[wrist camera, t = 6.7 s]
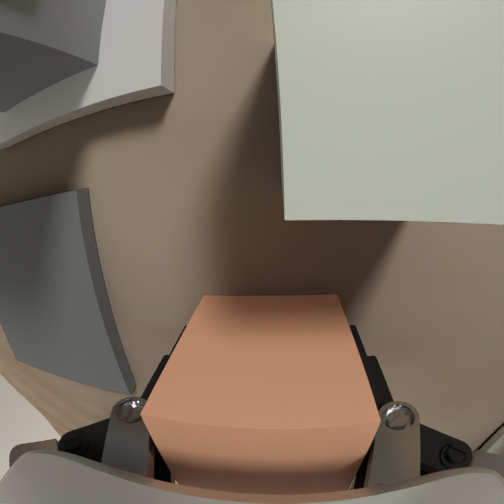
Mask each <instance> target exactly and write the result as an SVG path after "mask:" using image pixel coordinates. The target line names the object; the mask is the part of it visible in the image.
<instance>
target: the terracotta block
mask: <svg viewBox="0 0 504 504" xmlns="http://www.w3.org/2000/svg"><path fill="white" fill-rule="evenodd" d="M140 415H141V417H142V419H143V421H144V423H145V425H146V427H147V429H148V431H149V433H150V435H151V437H152V439H153V441H154V443H155V445H156V447H157V448H158V450H159V452H160V454H161V456H162V457H163V459H164V461H165V463H166V464H167V466H168V468H169V469H170V471H171V473H172V474H173V476H174V478H175V479H176V481H177V482H178V484H179V485H183V486H189V487H195V488H201V489H208V490H215V491H223V492H233V493H246V494H266V495H296V494H317V493H329V492H339V491H347V489H348V487H349V486H350V484H351V482H352V480H353V479H354V477H355V475H356V473H357V471H358V469H359V467H360V465H361V463H362V461H363V459H364V457H365V455H366V453H367V451H368V449H369V447H370V445H371V443H372V441H373V438H374V436H375V434H376V432H377V429H378V427H379V425H380V422H381V419H380V416H379V413H378V410H377V406H376V403H375V400H374V397H373V394H372V390H371V387H370V384H369V381H368V378H367V375H366V372H365V369H364V366H363V363H362V360H361V357H360V355H359V352H358V349H357V346H356V343H355V341H354V338H353V335H352V332H351V330H350V327H349V324H348V321H347V319H346V316H345V314H344V311H343V308H342V306H341V303H340V301H339V298H338V295H337V294H325V295H278V296H218V295H204V296H203V297H202V299H201V301H200V303H199V305H198V307H197V308H196V310H195V312H194V314H193V316H192V318H191V319H190V321H189V323H188V325H187V327H186V329H185V330H184V332H183V334H182V336H181V338H180V340H179V341H178V343H177V345H176V347H175V349H174V351H173V353H172V354H171V356H170V358H169V360H168V362H167V364H166V366H165V368H164V370H163V371H162V373H161V375H160V377H159V379H158V381H157V383H156V385H155V387H154V388H153V390H152V392H151V394H150V396H149V398H148V400H147V402H146V404H145V406H144V408H143V410H142V412H141V414H140Z"/></svg>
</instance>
